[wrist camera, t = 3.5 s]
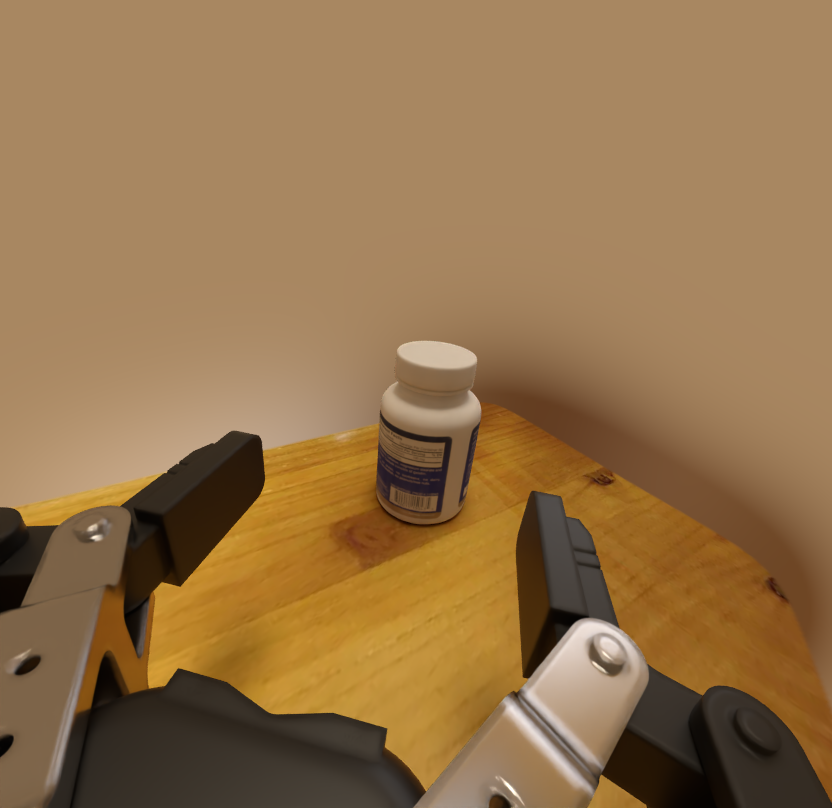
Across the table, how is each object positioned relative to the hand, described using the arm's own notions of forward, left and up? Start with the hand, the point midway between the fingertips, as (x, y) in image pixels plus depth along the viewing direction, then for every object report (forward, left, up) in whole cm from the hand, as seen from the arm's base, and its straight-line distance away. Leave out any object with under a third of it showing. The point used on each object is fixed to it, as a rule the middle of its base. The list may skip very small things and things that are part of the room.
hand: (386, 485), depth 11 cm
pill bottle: (+7, -6, -8) cm, 12 cm away
